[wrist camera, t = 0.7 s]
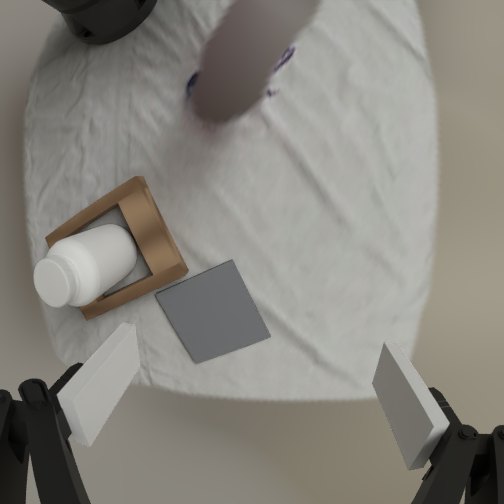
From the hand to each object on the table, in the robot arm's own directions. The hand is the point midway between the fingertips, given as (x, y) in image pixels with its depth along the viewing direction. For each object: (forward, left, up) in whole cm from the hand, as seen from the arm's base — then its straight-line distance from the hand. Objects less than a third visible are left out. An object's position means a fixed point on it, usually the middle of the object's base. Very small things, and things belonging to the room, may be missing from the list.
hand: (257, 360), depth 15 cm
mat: (+5, -10, -25) cm, 28 cm away
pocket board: (-9, -19, -25) cm, 33 cm away
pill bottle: (-9, -19, -26) cm, 33 cm away
